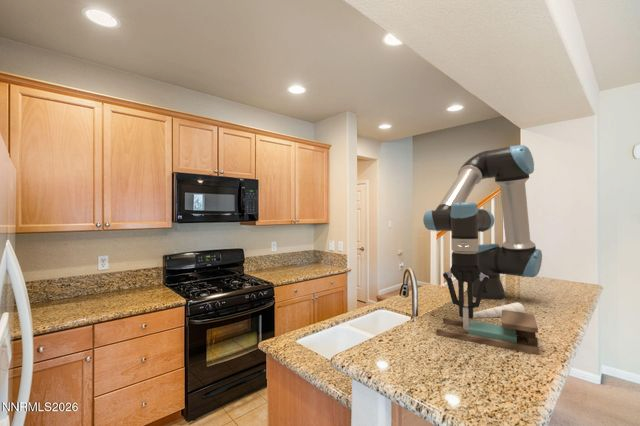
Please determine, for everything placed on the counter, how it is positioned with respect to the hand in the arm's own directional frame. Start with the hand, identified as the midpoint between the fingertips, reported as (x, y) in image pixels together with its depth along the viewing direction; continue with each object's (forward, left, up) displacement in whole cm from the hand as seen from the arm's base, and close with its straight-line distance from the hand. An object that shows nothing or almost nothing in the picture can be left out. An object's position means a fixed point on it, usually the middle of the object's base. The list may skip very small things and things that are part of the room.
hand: (466, 328), depth 89 cm
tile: (+4, +6, -2) cm, 7 cm away
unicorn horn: (-12, +18, -2) cm, 22 cm away
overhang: (+3, +4, -2) cm, 5 cm away
